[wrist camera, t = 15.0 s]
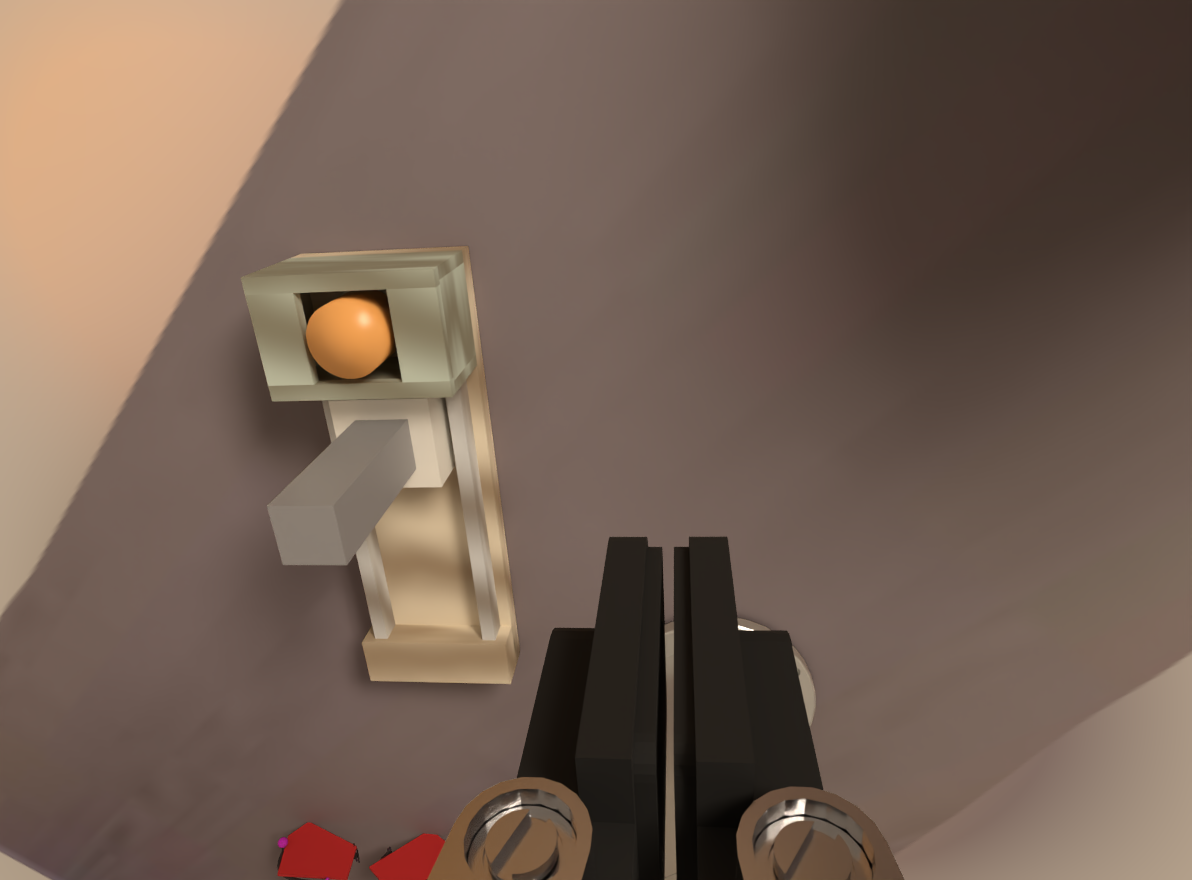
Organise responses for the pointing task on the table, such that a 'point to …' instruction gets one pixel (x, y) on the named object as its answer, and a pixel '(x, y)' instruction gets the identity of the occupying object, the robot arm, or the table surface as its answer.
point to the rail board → (424, 514)
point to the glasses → (352, 856)
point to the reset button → (352, 334)
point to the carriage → (360, 476)
